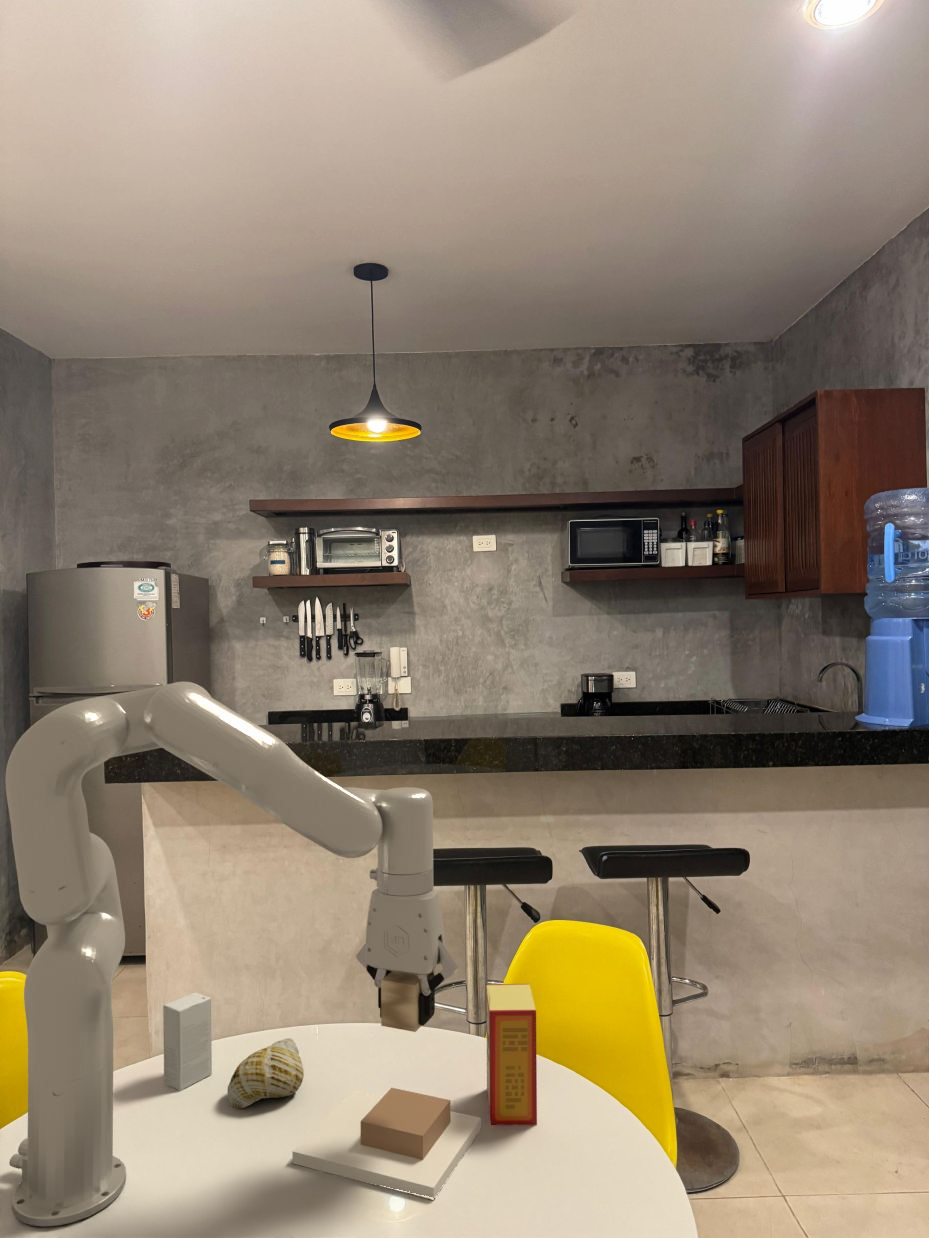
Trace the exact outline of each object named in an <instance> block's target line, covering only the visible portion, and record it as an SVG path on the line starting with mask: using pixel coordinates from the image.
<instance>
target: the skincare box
mask: <svg viewBox="0 0 929 1238" xmlns="http://www.w3.org/2000/svg"><path fill="white" fill-rule="evenodd" d="M162 1007H163V1008H162V1009H163V1010H162V1011H163V1012H162V1013H163V1015H162V1016H163V1082H164V1083H163V1084H165V1085H167V1086H169V1087H172V1088H173V1089H176V1090H177V1091H179V1092H181V1091H182V1090H184V1089H187V1088H188V1087H190V1086H192V1085H193V1084H195V1083H198V1082H199V1081H201V1080H202V1081H203V1080H204V1079H205V1078H208V1077H209V1076H211V1075H212V1073H213V1072H212V1071H213V1069H212V1067H213V1066H212V1065H213V1063H212V1061H213V1060H212V1059H213V1058H212V1057H213V1055H212V1047H213V1045H212V1042H213V1041H212V1040H213V1039H212V998H211V997H209V996H206V995H204V994H201V993H199V992H196V991H195V992H192V993H190V994H188V995H185V996H183V997H179V998H177V999H175V1000H173V1001H169V1002H167V1003H165V1004H163V1005H162Z"/></svg>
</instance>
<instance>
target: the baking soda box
mask: <svg viewBox="0 0 929 1238" xmlns="http://www.w3.org/2000/svg"><path fill="white" fill-rule="evenodd" d="M485 986H486V989H485V992H486V998H485V999H486V1006H485V1007H486V1094H487V1103H488V1117H489V1126H531V1125H532V1126H534V1125H537V1126H538V1103H537V1102H538V1100H537V1099H538V1094H537V1093H538V1091H537V1090H538V1089H537V1088H538V1087H537V1084H538V1082H537V1079H538V1078H537V1073H538V1072H537V1068H538V1067H537V1010H536V1005H535V1001H534V997H533V992H532V989H531V985H530V983H491V984H490V983H489V984H486V985H485Z"/></svg>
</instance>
